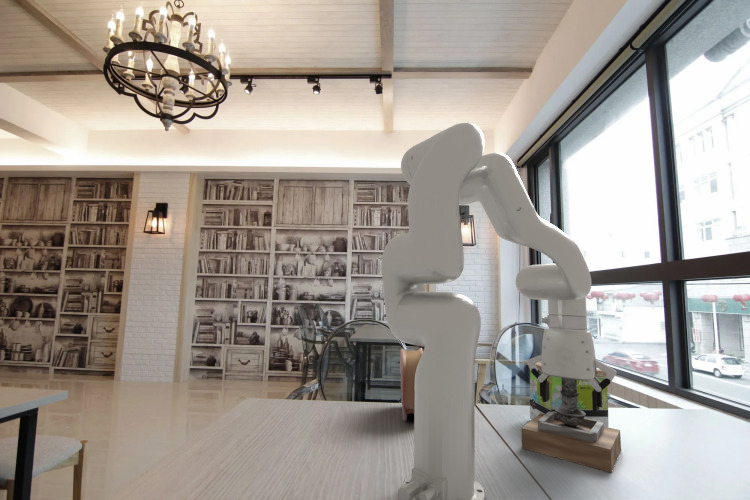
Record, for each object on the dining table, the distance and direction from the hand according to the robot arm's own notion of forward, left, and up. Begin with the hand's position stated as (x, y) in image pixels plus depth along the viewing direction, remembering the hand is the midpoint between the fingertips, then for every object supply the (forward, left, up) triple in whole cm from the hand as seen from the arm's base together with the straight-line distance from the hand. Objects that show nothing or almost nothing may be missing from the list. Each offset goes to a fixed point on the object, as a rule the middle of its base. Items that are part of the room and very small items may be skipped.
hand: (570, 405), depth 79 cm
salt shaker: (0, 0, -5) cm, 5 cm away
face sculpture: (-5, +37, -9) cm, 38 cm away
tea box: (+16, +4, -9) cm, 19 cm away
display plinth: (0, 0, -9) cm, 9 cm away
